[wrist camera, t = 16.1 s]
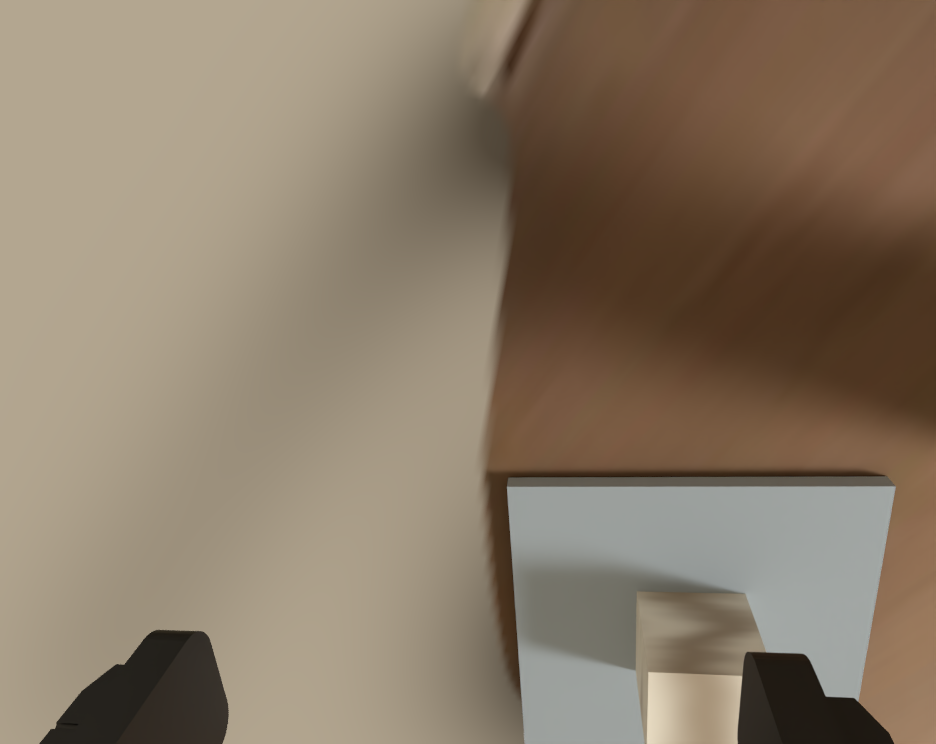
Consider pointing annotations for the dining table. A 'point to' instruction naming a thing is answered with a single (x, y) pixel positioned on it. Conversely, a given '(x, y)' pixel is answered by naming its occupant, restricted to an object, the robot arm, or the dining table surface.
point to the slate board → (683, 580)
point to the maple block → (692, 664)
